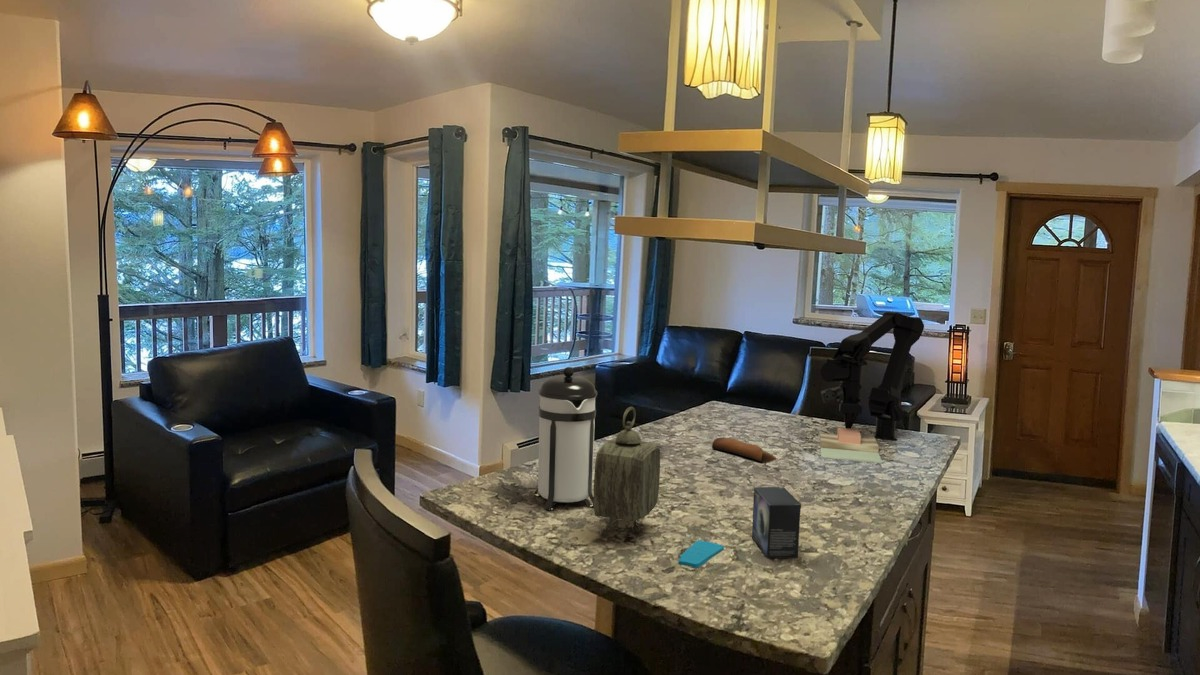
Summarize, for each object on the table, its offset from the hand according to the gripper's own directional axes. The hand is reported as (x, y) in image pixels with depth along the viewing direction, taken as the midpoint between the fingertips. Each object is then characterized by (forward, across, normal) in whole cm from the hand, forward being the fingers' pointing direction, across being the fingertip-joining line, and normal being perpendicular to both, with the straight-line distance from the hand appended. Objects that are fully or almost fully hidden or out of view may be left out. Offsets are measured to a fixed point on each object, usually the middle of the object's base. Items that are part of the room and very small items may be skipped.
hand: (847, 430), depth 234 cm
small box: (+4, +95, -18) cm, 97 cm away
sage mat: (+4, +17, 0) cm, 17 cm away
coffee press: (+4, +83, -64) cm, 105 cm away
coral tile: (+2, +5, 0) cm, 5 cm away
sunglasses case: (+4, +26, -28) cm, 39 cm away
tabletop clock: (+4, +96, -46) cm, 107 cm away
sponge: (+4, +104, -31) cm, 108 cm away
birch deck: (+4, +5, 0) cm, 6 cm away
